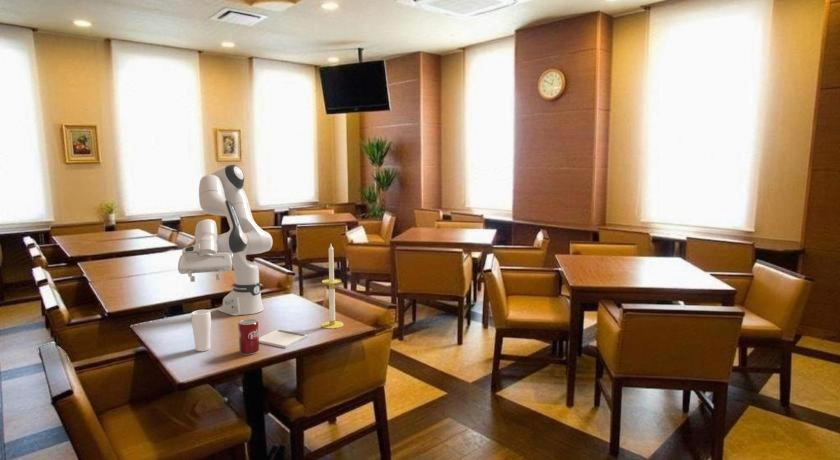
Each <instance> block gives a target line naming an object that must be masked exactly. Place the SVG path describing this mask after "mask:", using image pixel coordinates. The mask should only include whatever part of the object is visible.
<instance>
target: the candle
mask: <svg viewBox="0 0 840 460" xmlns="http://www.w3.org/2000/svg"><path fill="white" fill-rule="evenodd" d="M334 257H335V255H334V247H333V246H332V243H330V245H329V248H328V278H327V279H323V280H322V281H321V283H322V284H325V285H328V307H329V308H328V309H329V310H328V312H329V317H328V318H329V321H325V322H323V323H321V324H320V325H321V328H322V327H323V329H326V330H328V329H329V330H336V329H340V328H342V327H344V326H345V325H344V323H343V322H342V321H337V320H336V300H335V299H336V296H335V295H336V294H335V293H336V292H335V291H336V288H335V286H336V284H339V283H342V280H341V279H339V278H335V265H334V264H335V263H334V262H335V260H334ZM335 328H336V329H335Z"/></svg>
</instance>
